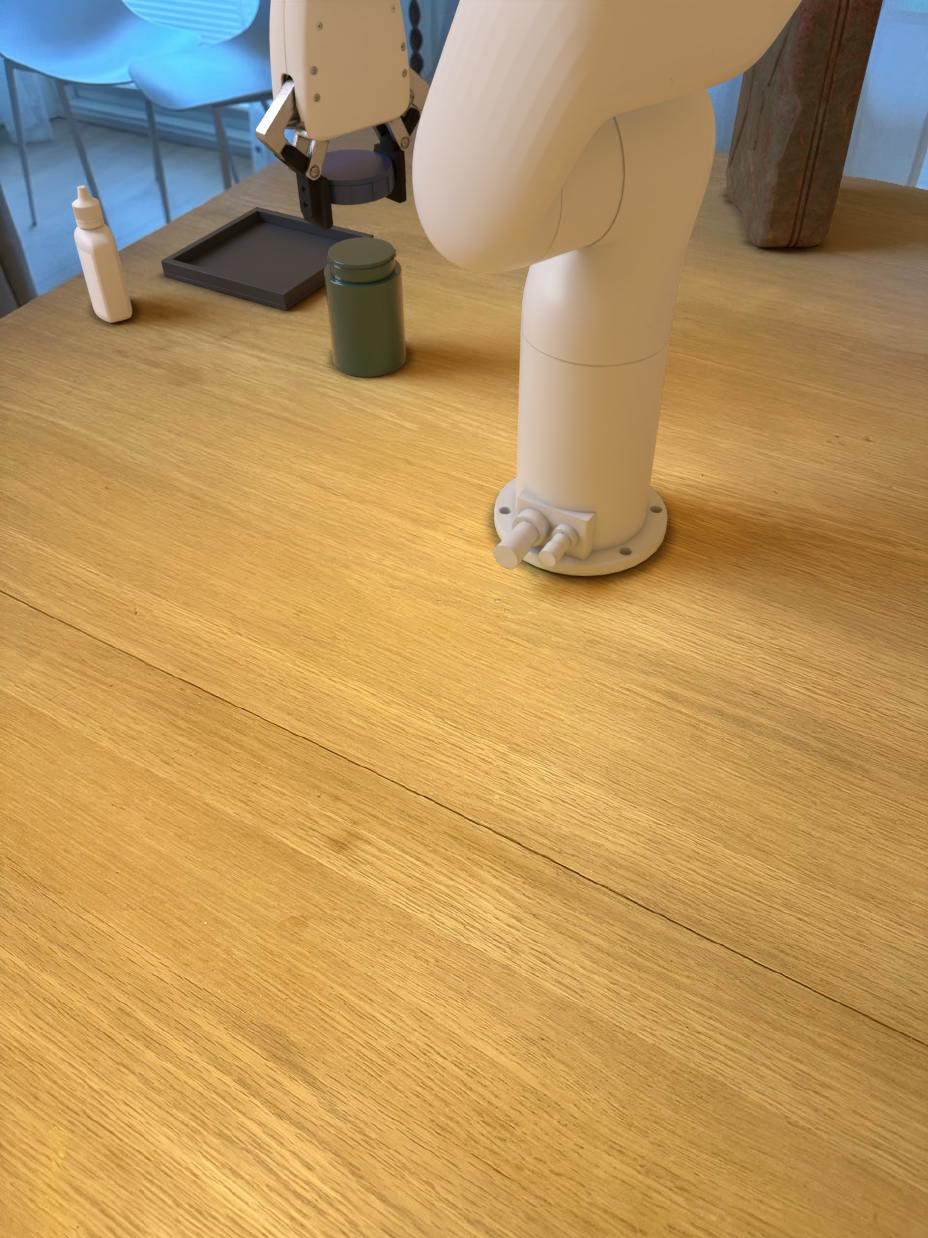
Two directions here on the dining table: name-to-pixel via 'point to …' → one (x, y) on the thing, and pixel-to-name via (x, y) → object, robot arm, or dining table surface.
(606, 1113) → the dining table surface
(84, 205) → the eye dropper bottle
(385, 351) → the jar
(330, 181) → the jar lid
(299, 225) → the tray
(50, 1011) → the dining table surface
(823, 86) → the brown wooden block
